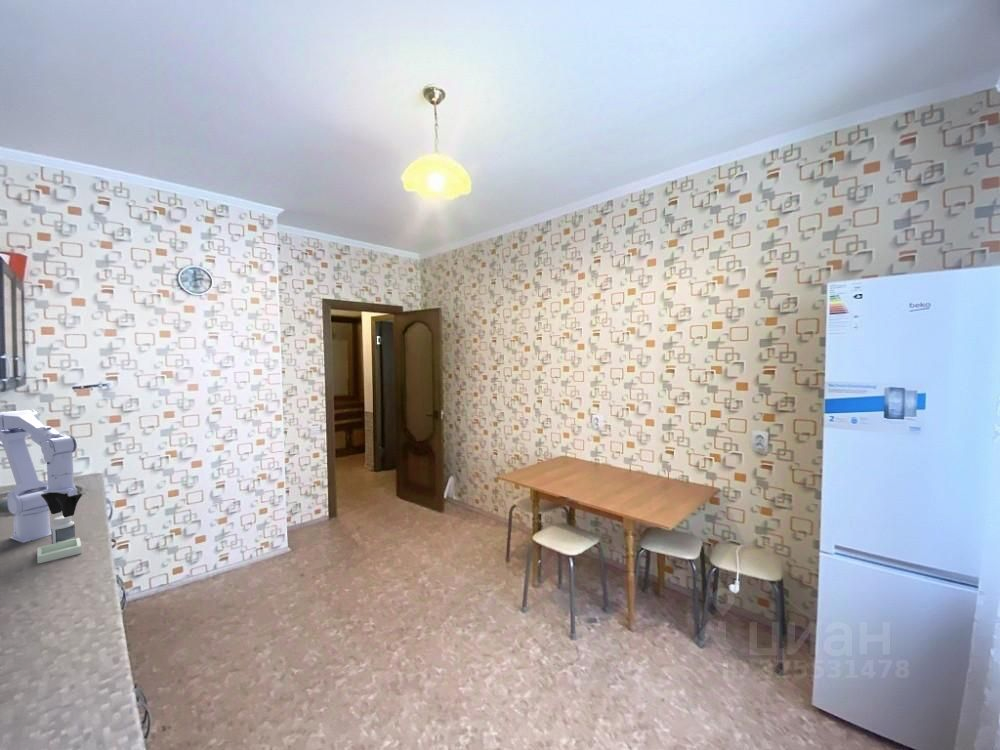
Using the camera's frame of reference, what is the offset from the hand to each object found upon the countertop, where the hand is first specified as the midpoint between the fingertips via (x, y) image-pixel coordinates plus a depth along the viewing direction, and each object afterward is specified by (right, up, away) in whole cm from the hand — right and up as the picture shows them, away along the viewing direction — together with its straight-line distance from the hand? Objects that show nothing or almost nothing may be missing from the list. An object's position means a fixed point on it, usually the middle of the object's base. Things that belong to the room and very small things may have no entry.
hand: (62, 514), depth 131 cm
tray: (+7, -10, -7) cm, 14 cm away
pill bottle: (0, -10, 0) cm, 10 cm away
